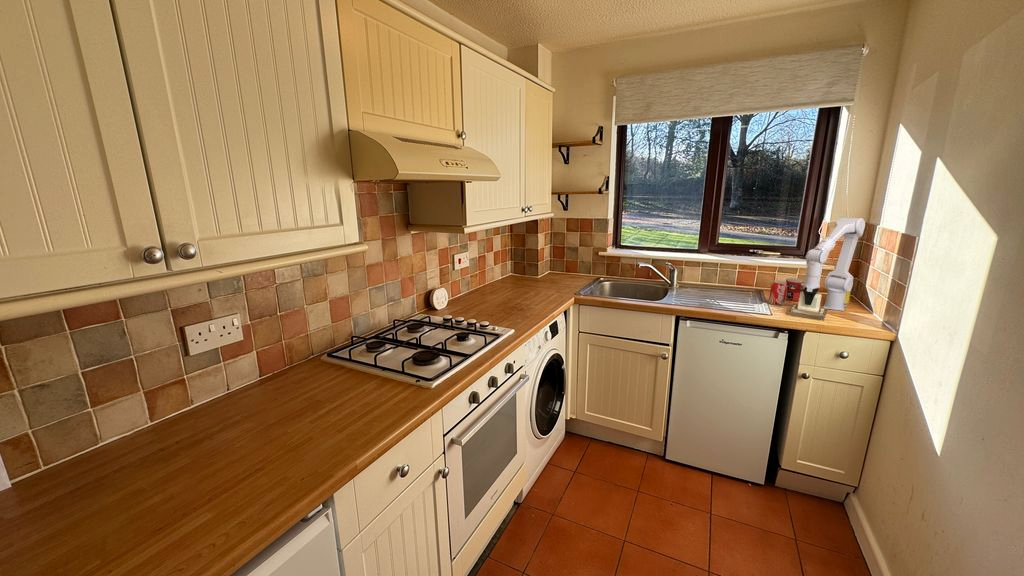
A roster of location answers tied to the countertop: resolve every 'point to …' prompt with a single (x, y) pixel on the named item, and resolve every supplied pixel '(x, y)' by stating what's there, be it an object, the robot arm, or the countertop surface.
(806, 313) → the notched board
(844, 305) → the pill bottle
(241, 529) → the countertop surface
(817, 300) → the picture frame
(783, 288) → the soda can
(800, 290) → the canned food
